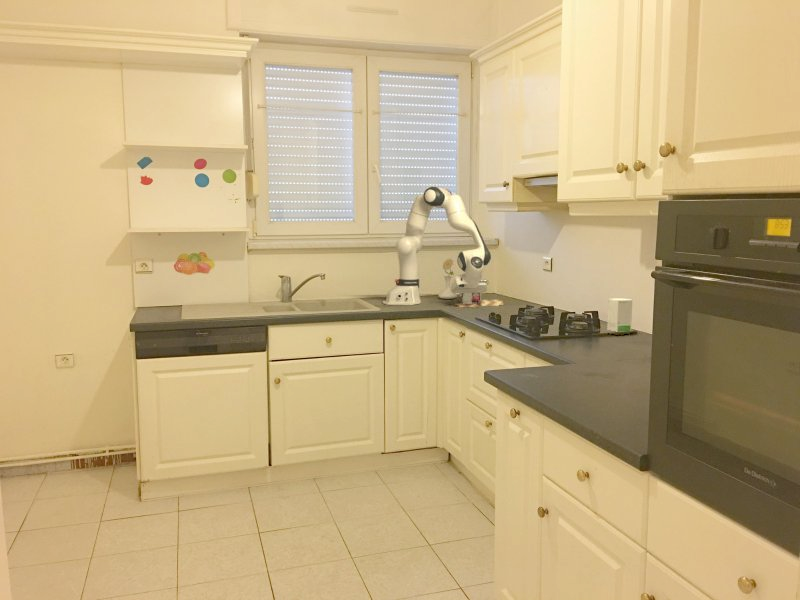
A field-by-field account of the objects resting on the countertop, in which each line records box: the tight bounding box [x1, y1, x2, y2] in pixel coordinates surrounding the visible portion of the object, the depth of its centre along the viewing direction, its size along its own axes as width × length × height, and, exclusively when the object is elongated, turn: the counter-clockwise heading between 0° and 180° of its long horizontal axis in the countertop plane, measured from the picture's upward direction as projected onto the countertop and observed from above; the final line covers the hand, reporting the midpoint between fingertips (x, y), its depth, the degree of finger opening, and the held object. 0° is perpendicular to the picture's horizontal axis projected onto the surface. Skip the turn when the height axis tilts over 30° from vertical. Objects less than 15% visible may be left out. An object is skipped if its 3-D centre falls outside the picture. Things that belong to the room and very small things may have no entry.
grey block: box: [461, 293, 473, 304], centre depth 379 cm, size 5×2×8 cm, turn 99°
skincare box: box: [606, 297, 633, 332], centre depth 289 cm, size 8×7×16 cm
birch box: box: [477, 299, 504, 307], centre depth 382 cm, size 13×7×2 cm, turn 98°
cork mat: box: [454, 302, 481, 308], centre depth 379 cm, size 12×12×1 cm
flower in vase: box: [438, 258, 458, 300], centre depth 408 cm, size 13×11×25 cm
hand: (466, 295), depth 379 cm, fingers closed on grey block, 5 cm apart
